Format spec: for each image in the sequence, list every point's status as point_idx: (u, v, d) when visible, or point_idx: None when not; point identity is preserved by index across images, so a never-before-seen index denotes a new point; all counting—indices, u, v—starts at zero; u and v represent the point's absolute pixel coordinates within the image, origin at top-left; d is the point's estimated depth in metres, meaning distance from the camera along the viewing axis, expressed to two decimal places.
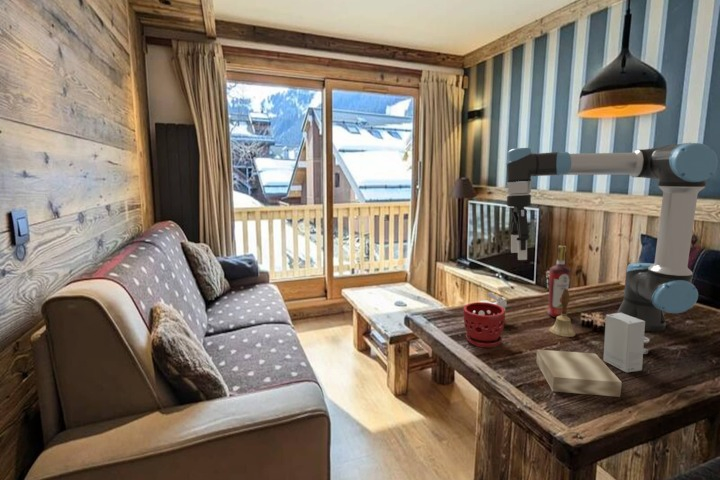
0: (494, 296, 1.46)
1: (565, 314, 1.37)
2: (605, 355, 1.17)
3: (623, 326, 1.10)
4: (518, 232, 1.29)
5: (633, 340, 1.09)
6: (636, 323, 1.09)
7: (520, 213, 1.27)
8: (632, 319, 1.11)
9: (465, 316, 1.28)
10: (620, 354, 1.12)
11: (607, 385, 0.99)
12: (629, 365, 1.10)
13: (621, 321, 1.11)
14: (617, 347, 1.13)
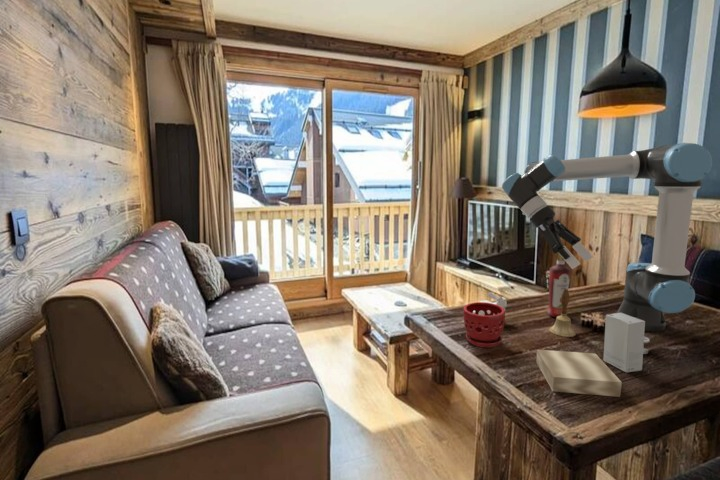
0: (494, 296, 1.46)
1: (565, 314, 1.37)
2: (605, 355, 1.17)
3: (623, 326, 1.10)
4: None
5: (633, 340, 1.09)
6: (636, 323, 1.09)
7: (540, 228, 1.25)
8: (632, 319, 1.11)
9: (465, 316, 1.28)
10: (620, 354, 1.12)
11: (607, 385, 0.99)
12: (629, 365, 1.10)
13: (621, 321, 1.11)
14: (617, 347, 1.13)
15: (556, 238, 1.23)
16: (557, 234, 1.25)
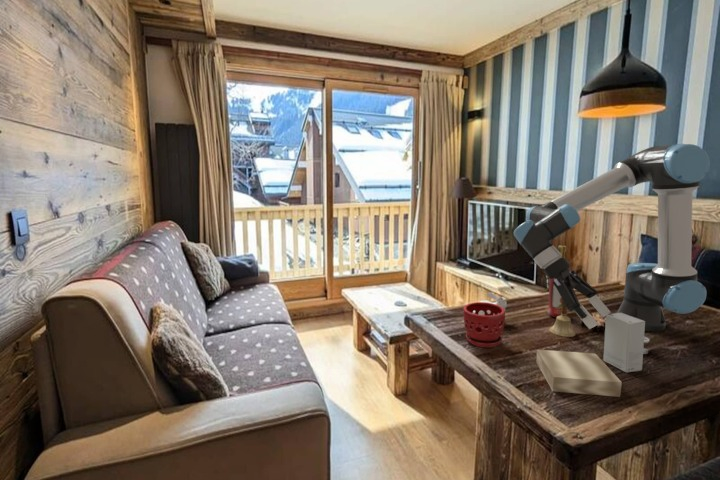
0: (494, 296, 1.46)
1: (565, 314, 1.37)
2: (605, 355, 1.17)
3: (623, 326, 1.10)
4: None
5: (633, 340, 1.09)
6: (636, 323, 1.09)
7: (555, 283, 1.18)
8: (632, 319, 1.11)
9: (465, 316, 1.28)
10: (620, 354, 1.12)
11: (607, 385, 0.99)
12: (629, 365, 1.10)
13: (621, 321, 1.11)
14: (617, 347, 1.13)
15: (572, 294, 1.16)
16: (573, 289, 1.17)
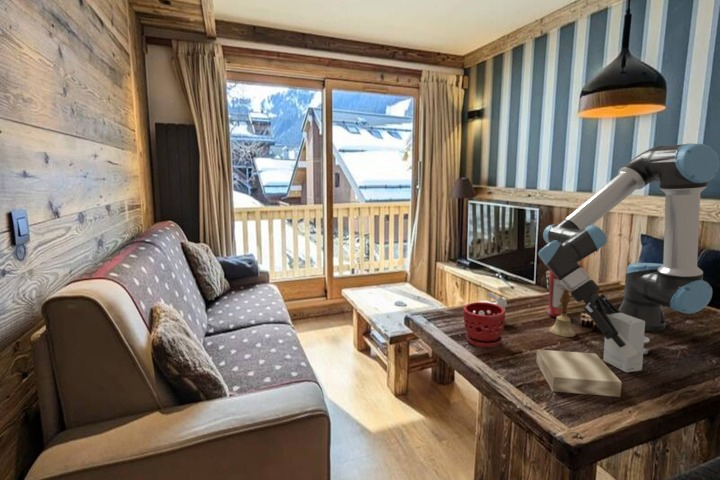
0: (494, 296, 1.46)
1: (565, 314, 1.37)
2: (605, 355, 1.17)
3: (623, 326, 1.10)
4: None
5: (633, 340, 1.09)
6: (636, 323, 1.09)
7: (587, 310, 1.13)
8: (632, 319, 1.11)
9: (465, 316, 1.28)
10: (620, 354, 1.12)
11: (607, 385, 0.99)
12: (629, 365, 1.10)
13: (621, 321, 1.11)
14: (617, 347, 1.13)
15: (607, 321, 1.12)
16: (606, 315, 1.13)
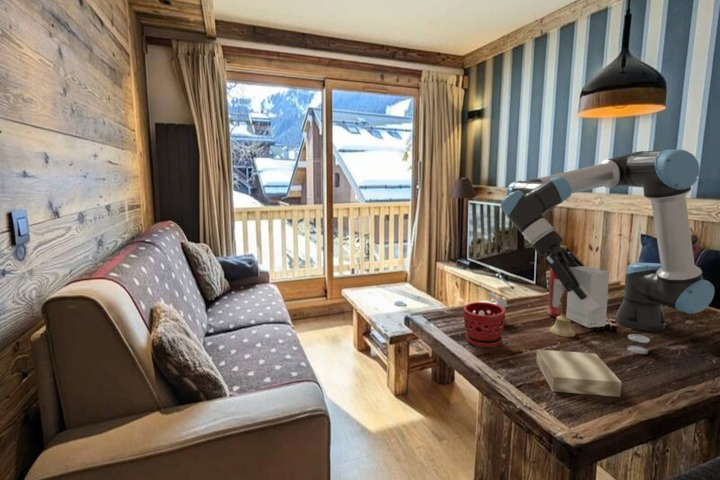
0: (494, 296, 1.46)
1: (565, 314, 1.37)
2: (568, 311, 1.08)
3: (586, 277, 1.02)
4: None
5: (596, 292, 1.01)
6: (599, 274, 1.00)
7: (548, 261, 1.05)
8: (595, 270, 1.02)
9: (465, 316, 1.28)
10: (582, 308, 1.03)
11: (607, 385, 0.99)
12: (592, 320, 1.02)
13: (583, 272, 1.02)
14: (579, 301, 1.04)
15: (568, 273, 1.03)
16: (568, 266, 1.05)
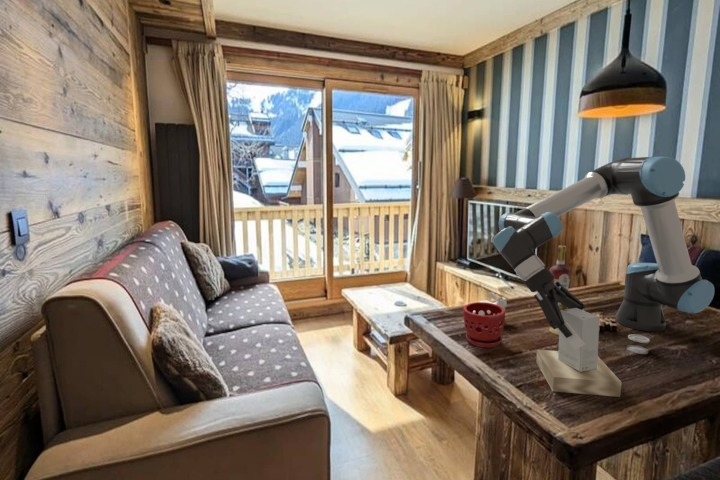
0: (494, 296, 1.46)
1: None
2: (560, 353, 1.09)
3: (577, 322, 1.03)
4: None
5: (587, 337, 1.02)
6: (590, 319, 1.01)
7: (537, 297, 1.06)
8: (586, 314, 1.03)
9: (465, 316, 1.28)
10: (574, 352, 1.04)
11: (607, 385, 0.99)
12: (583, 364, 1.03)
13: (574, 317, 1.03)
14: (571, 345, 1.05)
15: (556, 310, 1.03)
16: (557, 304, 1.05)
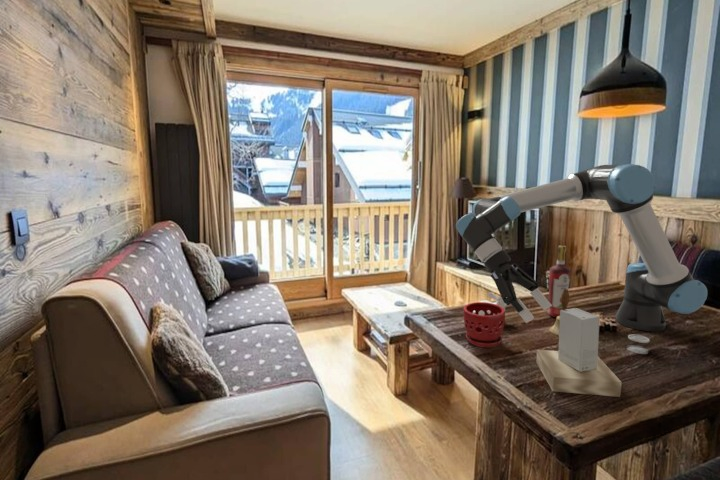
0: (494, 296, 1.46)
1: None
2: (560, 353, 1.09)
3: (577, 322, 1.03)
4: (506, 295, 1.13)
5: (587, 337, 1.02)
6: (590, 319, 1.01)
7: (493, 276, 1.15)
8: (586, 314, 1.03)
9: (465, 316, 1.28)
10: (574, 352, 1.04)
11: (607, 385, 0.99)
12: (583, 364, 1.03)
13: (574, 317, 1.03)
14: (571, 345, 1.05)
15: (509, 288, 1.13)
16: (511, 283, 1.14)
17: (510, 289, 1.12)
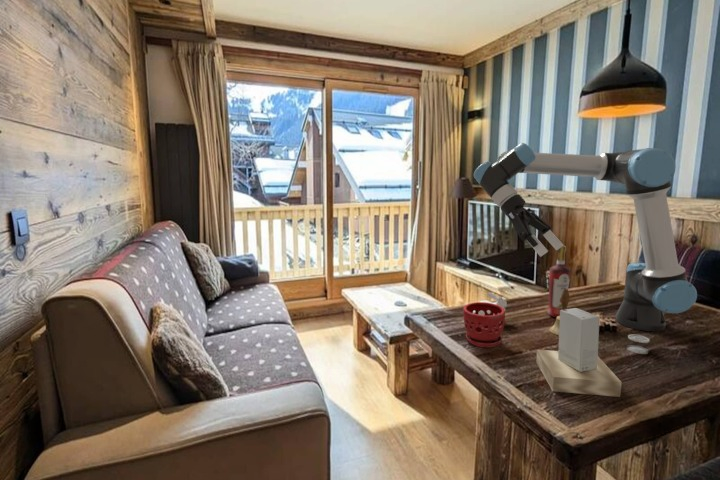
0: (494, 296, 1.46)
1: None
2: (560, 353, 1.09)
3: (577, 322, 1.03)
4: (522, 233, 1.23)
5: (587, 337, 1.02)
6: (590, 319, 1.01)
7: (510, 216, 1.24)
8: (586, 314, 1.03)
9: (465, 316, 1.28)
10: (574, 352, 1.04)
11: (607, 385, 0.99)
12: (583, 364, 1.03)
13: (574, 317, 1.03)
14: (571, 345, 1.05)
15: (525, 226, 1.22)
16: (526, 222, 1.24)
17: (525, 227, 1.22)
